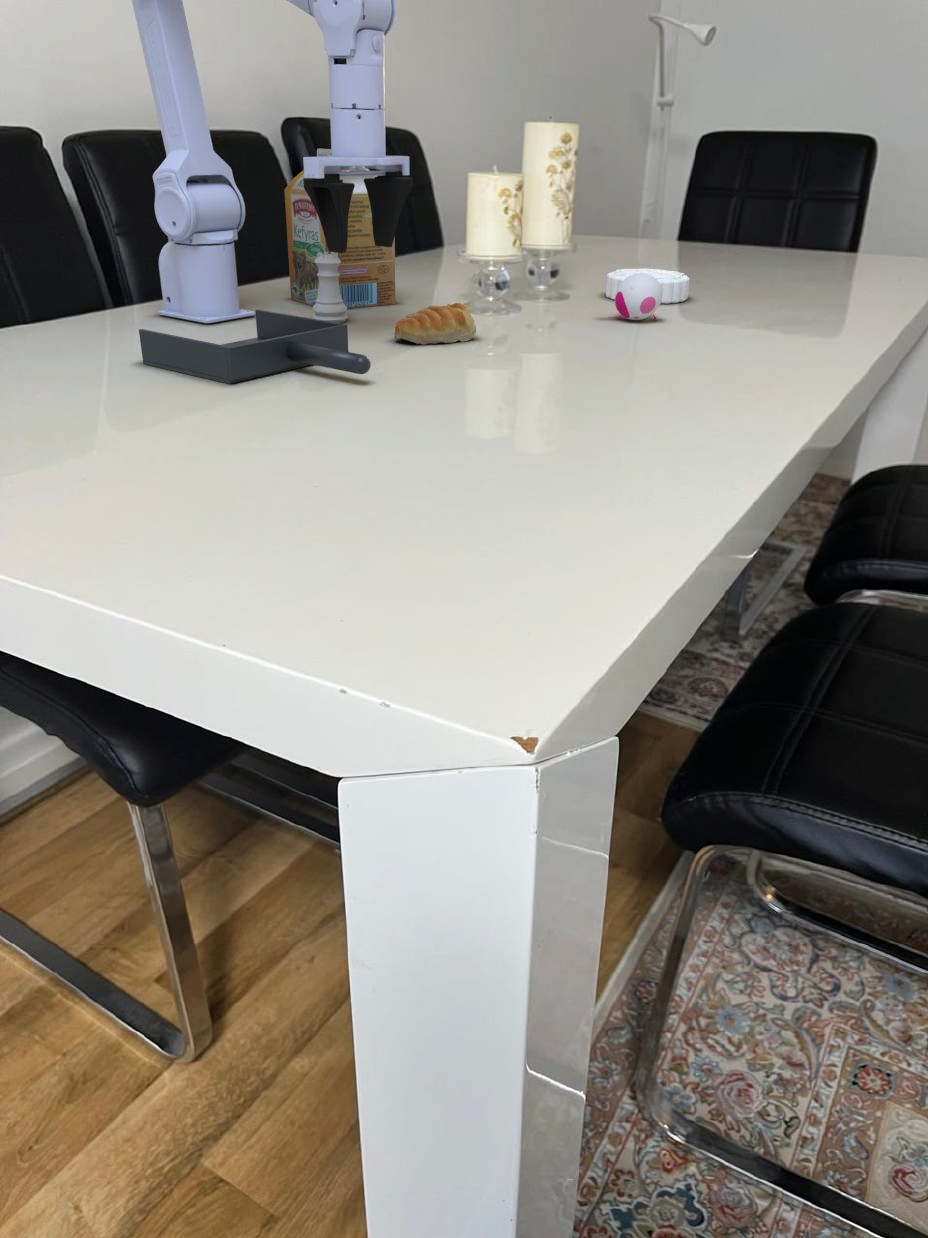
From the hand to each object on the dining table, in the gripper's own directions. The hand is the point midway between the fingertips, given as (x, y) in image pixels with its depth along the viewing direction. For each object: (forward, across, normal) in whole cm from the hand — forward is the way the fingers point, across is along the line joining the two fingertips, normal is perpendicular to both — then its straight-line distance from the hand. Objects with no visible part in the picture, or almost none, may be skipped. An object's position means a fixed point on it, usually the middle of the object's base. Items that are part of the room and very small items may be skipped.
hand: (361, 248), depth 106 cm
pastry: (+10, +6, -6) cm, 13 cm away
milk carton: (+10, +18, +20) cm, 28 cm away
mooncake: (+10, +51, -10) cm, 53 cm away
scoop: (+10, -16, -4) cm, 19 cm away
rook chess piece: (+10, +6, +11) cm, 16 cm away
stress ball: (+10, +33, -17) cm, 38 cm away
